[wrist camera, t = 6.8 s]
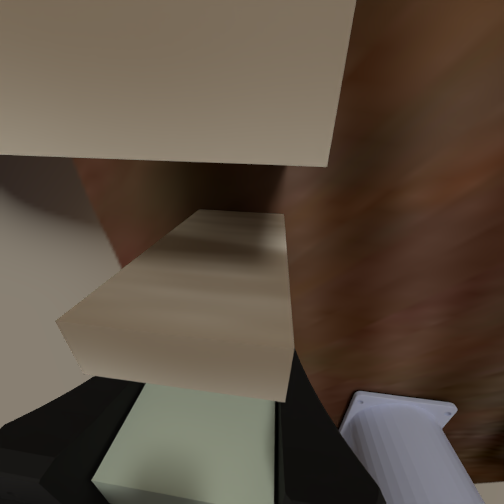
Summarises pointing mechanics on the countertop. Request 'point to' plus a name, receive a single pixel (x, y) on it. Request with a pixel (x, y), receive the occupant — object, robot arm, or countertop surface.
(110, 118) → the domino
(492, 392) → the countertop surface
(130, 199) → the countertop surface
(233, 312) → the domino
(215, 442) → the domino
